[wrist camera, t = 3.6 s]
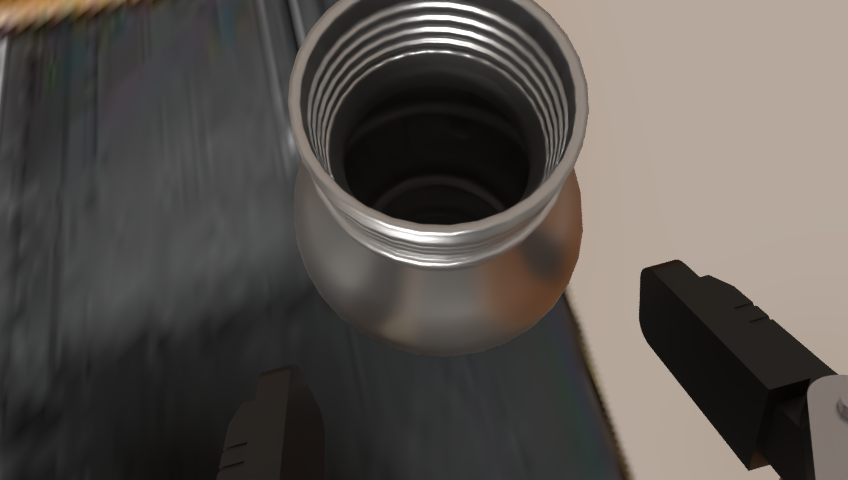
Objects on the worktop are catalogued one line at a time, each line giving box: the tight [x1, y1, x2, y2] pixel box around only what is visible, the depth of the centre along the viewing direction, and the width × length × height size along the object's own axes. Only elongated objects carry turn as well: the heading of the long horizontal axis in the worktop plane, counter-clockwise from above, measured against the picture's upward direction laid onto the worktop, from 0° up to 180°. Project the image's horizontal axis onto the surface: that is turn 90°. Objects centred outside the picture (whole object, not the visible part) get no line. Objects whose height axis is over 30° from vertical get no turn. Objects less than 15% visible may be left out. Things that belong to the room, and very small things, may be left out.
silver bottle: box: [288, 0, 589, 357], centre depth 16 cm, size 6×7×20 cm
